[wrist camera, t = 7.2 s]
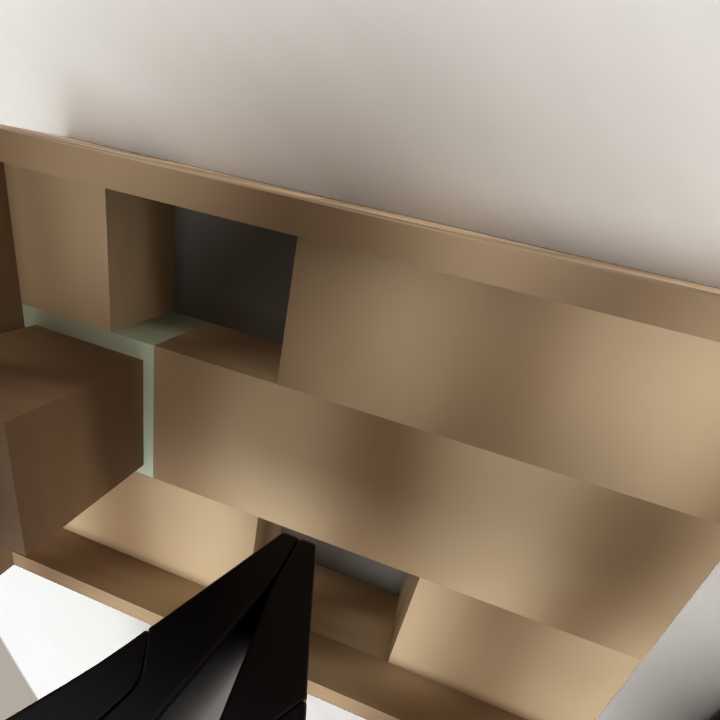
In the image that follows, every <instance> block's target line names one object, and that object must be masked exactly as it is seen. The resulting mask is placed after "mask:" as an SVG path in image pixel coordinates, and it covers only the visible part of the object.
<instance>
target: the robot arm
mask: <svg viewBox="0 0 720 720" xmlns="http://www.w3.org/2000/svg"><path fill="white" fill-rule="evenodd" d="M315 558H316V544H315V543H313V542H310V541H308V540H305V539H300V540H299V538H298V537H297V536H294V535H292V534H289V533H286V532H284V533H281V534H280V535H278V536H277V537H276V538H274V539H273V540H271V541H270V542H269V543H267V544H266V545H264V546H263V547H262V548H260V549H259V550H257V551H256V552H255V553H253V554H252V555H250V556H249V557H248V558H246V559H245V560H244V561H242V562H241V563H239V564H238V565H237V566H235V567H234V568H232V569H231V570H230V571H228V572H227V573H225V574H224V575H223V576H221V577H220V578H218V579H217V580H216V581H214V582H213V583H211V584H210V585H209V586H207V587H206V588H204V589H203V590H202V591H200V592H199V593H198V594H196V595H195V596H193V597H192V598H191V599H189V600H188V601H186V602H185V603H184V604H182V605H181V606H179V607H178V608H177V609H175V610H174V611H172V612H171V613H170V614H168V615H167V616H165V617H164V618H163V619H161V620H160V621H158V622H157V623H156V624H154V625H153V626H152V627H150V628H149V630H148V631H144V632H143V633H141V634H140V635H139V636H137V637H136V638H135V639H133V640H132V641H130V642H129V643H128V644H126V645H125V646H123V647H122V648H120V649H119V650H117V651H116V652H114V653H113V654H112V655H110V656H109V657H107V658H106V659H104V660H103V661H101V662H100V663H98V664H97V665H95V666H94V667H92V668H90V669H89V670H87V671H85V672H84V673H82V674H81V675H79V676H77V677H76V678H74V679H73V680H71V681H69V682H68V683H66V684H65V685H63V686H61V687H59V688H58V689H56V690H54V691H53V692H51V693H49V694H48V695H46V696H44V697H43V698H41V699H39V700H38V701H36V702H34V703H33V704H31V705H29V706H28V707H26V708H24V709H23V710H21V711H19V712H18V713H16V714H14V715H12V716H11V717H9V718H7V719H6V720H306V700H307V686H308V670H309V654H310V638H311V622H312V606H313V590H314V574H315ZM717 720H720V717H719V718H718V719H717Z"/></svg>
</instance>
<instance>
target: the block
mask: <svg viewBox="0 0 720 720" xmlns="http://www.w3.org/2000/svg"><path fill="white" fill-rule="evenodd" d="M143 465H144V427H143V360H141V359H138V358H135V357H132V356H129V355H126V354H123V353H120V352H117V351H114V350H111V349H108V348H105V347H102V346H98V345H95V344H92V343H89V342H86V341H83V340H80V339H77V338H74V337H71V336H68V335H65V334H62V333H59V332H56V331H53V330H49V329H46V328H43V327H40V326H37V325H33V326H29V327H25V328H21V329H17V330H13V331H9V332H5V333H1V334H0V545H2V546H4V547H6V548H8V549H11V550H13V551H15V552H18V553H20V554H22V555H25V556H27V555H28V554H29V553H30V552H32V551H33V550H34V549H36V548H37V547H38V546H39V545H41V544H42V543H43V542H45V541H46V540H47V539H49V538H50V537H51V536H52V535H54V534H55V533H56V532H58V531H59V530H60V529H61V528H63V527H64V526H65V525H67V524H68V523H69V522H71V521H72V520H73V519H74V518H76V517H77V516H78V515H80V514H81V513H82V512H83V511H85V510H86V509H87V508H89V507H90V506H91V505H92V504H94V503H95V502H96V501H98V500H99V499H100V498H102V497H103V496H104V495H105V494H107V493H108V492H109V491H111V490H112V489H113V488H114V487H116V486H117V485H118V484H120V483H121V482H122V481H124V480H125V479H126V478H127V477H129V476H130V475H131V474H133V473H134V472H135V471H136V470H138V469H139V468H140V467H142V466H143Z"/></svg>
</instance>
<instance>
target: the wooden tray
mask: <svg viewBox="0 0 720 720" xmlns="http://www.w3.org/2000/svg"><path fill="white" fill-rule="evenodd" d="M33 325H37V326H40V327H43V328H46V329H49V330H53V331H56V332H59V333H62V334H65V335H68V336H71V337H74V338H77V339H80V340H83V341H86V342H89V343H92V344H95V345H98V346H102V347H105V348H108V349H111V350H114V351H117V352H120V353H123V354H126V355H129V356H132V357H135V358H138V359H141V360H143V427H144V465H143V466H142V467H140V468H139V469H138V470H136V471H135V472H134V473H133V474H131V475H130V476H129V477H127V478H126V479H125V480H124V481H122V482H121V483H120V484H118V485H117V486H116V487H114V488H113V489H112V490H111V491H109V492H108V493H107V494H105V495H104V496H103V497H102V498H100V499H99V500H98V501H96V502H95V503H94V504H92V505H91V506H90V507H89V508H87V509H86V510H85V511H83V512H82V513H81V514H80V515H78V516H77V517H76V518H74V519H73V520H72V521H71V522H69V523H68V524H67V525H65V526H64V527H63V528H61V529H60V530H59V531H58V532H56V533H55V534H54V535H52V536H51V537H50V538H49V539H47V540H46V541H45V542H43V543H42V544H41V545H39V546H38V547H37V548H36V549H34V550H33V551H32V552H30V553H29V554H28V555H27V556H25V555H22V554H20V553H18V552H15V551H13V550H11V549H8V548H6V547H4V546H2V545H0V575H1V574H2V573H4V572H5V571H6V570H7V569H9V568H10V567H11V566H13V565H16V566H19V567H21V568H23V569H25V570H28V571H30V572H32V573H34V574H37V575H39V576H41V577H44V578H46V579H48V580H50V581H53V582H55V583H57V584H59V585H62V586H64V587H66V588H69V589H71V590H73V591H75V592H78V593H80V594H82V595H85V596H87V597H89V598H91V599H94V600H96V601H98V602H100V603H103V604H105V605H107V606H110V607H112V608H114V609H116V610H119V611H121V612H123V613H125V614H128V615H130V616H132V617H135V618H137V619H139V620H141V621H144V622H146V623H148V624H150V625H154V624H156V623H157V622H158V621H160V620H161V619H163V618H164V617H165V616H167V615H168V614H170V613H171V612H172V611H174V610H175V609H177V608H178V607H179V606H181V605H182V604H184V603H185V602H186V601H188V600H189V599H191V598H192V597H193V596H195V595H196V594H198V593H199V592H200V591H202V590H203V589H204V588H206V587H207V586H209V585H210V584H211V583H213V582H214V581H216V580H217V579H218V578H220V577H221V576H223V575H224V574H225V573H227V572H228V571H230V570H231V569H232V568H234V567H235V566H237V565H238V564H239V563H241V562H242V561H244V560H245V559H246V558H248V557H249V556H250V555H252V554H253V553H255V552H256V551H257V550H259V549H260V548H262V547H263V546H264V545H266V544H267V543H269V542H270V541H271V540H273V539H274V538H276V537H277V536H278V535H280V534H281V533H284V532H286V533H289V534H292V535H294V536H297V537H298V538H299V540H300V539H305V540H308V541H310V542H313V543H315V544H316V558H315V574H314V590H313V606H312V622H311V638H310V654H309V670H308V686H307V694H310V695H312V696H314V697H317V698H319V699H321V700H323V701H326V702H328V703H330V704H332V705H335V706H337V707H339V708H342V709H344V710H346V711H348V712H351V713H353V714H355V715H358V716H360V717H362V718H364V719H367V720H596V719H597V717H598V716H599V715H600V714H601V712H602V711H603V710H604V708H605V707H606V706H607V705H608V703H609V702H610V701H611V699H612V698H613V697H614V696H615V694H616V693H617V692H618V690H619V689H620V688H621V687H622V685H623V684H624V683H625V682H626V680H627V679H628V678H629V676H630V675H631V674H632V673H633V671H634V670H635V669H636V667H637V666H638V665H639V664H640V662H641V661H642V660H643V658H644V657H645V656H646V655H647V653H648V652H649V651H650V649H651V648H652V647H653V646H654V644H655V643H656V642H657V641H658V639H659V638H660V637H661V635H662V634H663V633H664V632H665V630H666V629H667V628H668V626H669V625H670V624H671V623H672V621H673V620H674V619H675V617H676V616H677V615H678V614H679V612H680V611H681V610H682V608H683V607H684V606H685V605H686V603H687V602H688V601H689V600H690V598H691V597H692V596H693V594H694V593H695V592H696V591H697V589H698V588H699V587H700V585H701V584H702V583H703V582H704V580H705V579H706V578H707V576H708V575H709V574H710V573H711V571H712V570H713V569H714V568H715V566H716V565H717V564H718V562H719V561H720V289H718V288H713V287H709V286H705V285H700V284H696V283H692V282H688V281H683V280H679V279H675V278H670V277H666V276H662V275H657V274H653V273H649V272H644V271H640V270H636V269H632V268H627V267H623V266H619V265H614V264H610V263H606V262H601V261H597V260H593V259H589V258H584V257H580V256H576V255H571V254H567V253H563V252H558V251H554V250H550V249H545V248H541V247H537V246H533V245H528V244H524V243H520V242H515V241H511V240H507V239H502V238H498V237H494V236H489V235H485V234H481V233H477V232H472V231H468V230H464V229H459V228H455V227H451V226H446V225H442V224H438V223H433V222H429V221H425V220H421V219H416V218H412V217H408V216H403V215H399V214H395V213H390V212H386V211H382V210H377V209H373V208H369V207H365V206H360V205H356V204H352V203H347V202H343V201H339V200H334V199H330V198H326V197H321V196H317V195H313V194H309V193H304V192H300V191H296V190H291V189H287V188H283V187H278V186H274V185H270V184H265V183H261V182H257V181H253V180H248V179H244V178H240V177H235V176H231V175H227V174H222V173H218V172H214V171H209V170H205V169H201V168H197V167H192V166H188V165H184V164H179V163H175V162H171V161H166V160H162V159H158V158H154V157H149V156H145V155H141V154H136V153H132V152H128V151H123V150H119V149H115V148H110V147H106V146H102V145H98V144H93V143H89V142H85V141H80V140H76V139H72V138H67V137H63V136H58V135H52V134H47V133H42V132H37V131H32V130H27V129H22V128H16V127H11V126H6V125H1V124H0V334H1V333H5V332H9V331H13V330H17V329H21V328H25V327H29V326H33Z"/></svg>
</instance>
